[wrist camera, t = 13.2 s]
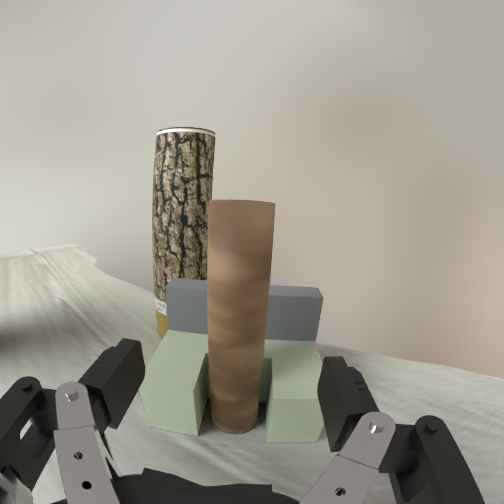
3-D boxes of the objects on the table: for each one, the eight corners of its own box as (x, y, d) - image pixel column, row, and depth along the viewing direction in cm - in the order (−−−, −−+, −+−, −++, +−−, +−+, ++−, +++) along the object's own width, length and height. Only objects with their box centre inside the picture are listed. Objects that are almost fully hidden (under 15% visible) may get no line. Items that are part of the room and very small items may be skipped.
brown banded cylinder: (208, 431, 19) (201, 202, 14) (215, 400, 22) (215, 199, 18) (256, 435, 18) (276, 205, 14) (257, 404, 22) (274, 201, 18)
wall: (172, 373, 26) (165, 286, 23) (178, 360, 28) (173, 277, 26) (306, 384, 25) (323, 297, 23) (303, 370, 28) (317, 287, 26)
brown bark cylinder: (218, 339, 33) (227, 132, 28) (169, 352, 29) (169, 124, 23) (194, 317, 39) (198, 139, 33) (151, 327, 34) (149, 135, 29)
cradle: (149, 426, 18) (137, 380, 17) (172, 373, 26) (168, 329, 24) (317, 441, 18) (333, 398, 16) (306, 384, 25) (315, 341, 24)
